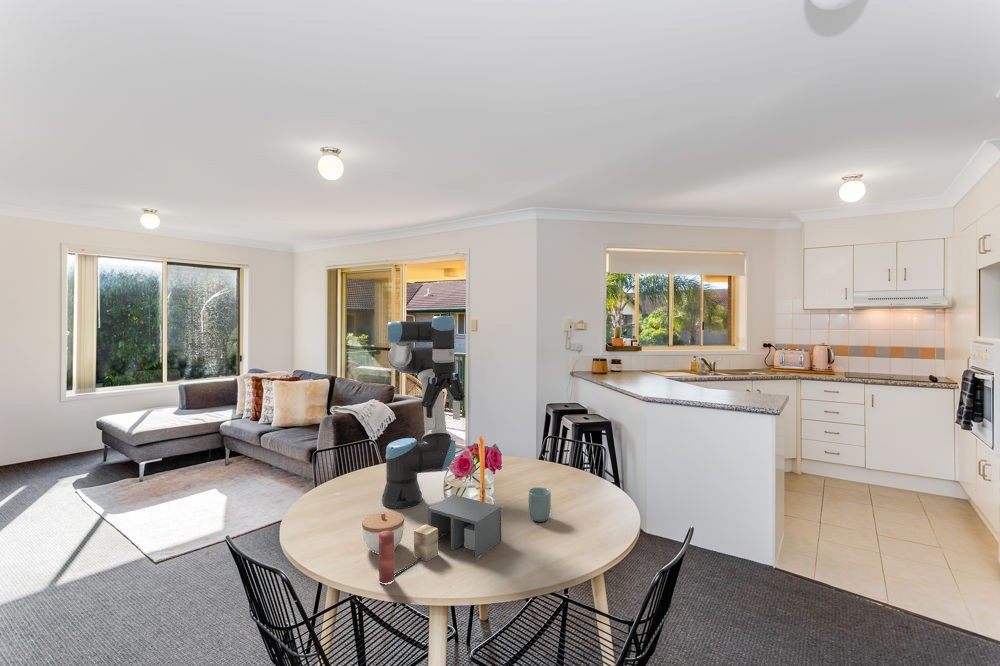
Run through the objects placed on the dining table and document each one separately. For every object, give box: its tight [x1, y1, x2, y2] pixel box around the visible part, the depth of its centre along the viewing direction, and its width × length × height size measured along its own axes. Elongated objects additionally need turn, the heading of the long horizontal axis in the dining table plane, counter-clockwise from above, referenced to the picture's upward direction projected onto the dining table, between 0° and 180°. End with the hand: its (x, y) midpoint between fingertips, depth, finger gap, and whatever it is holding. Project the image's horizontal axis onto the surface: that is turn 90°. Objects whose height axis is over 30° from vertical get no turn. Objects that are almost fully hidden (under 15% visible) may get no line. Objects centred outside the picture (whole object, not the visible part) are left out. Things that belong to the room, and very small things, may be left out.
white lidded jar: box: [361, 510, 405, 554], centre depth 149 cm, size 13×13×11 cm
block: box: [463, 524, 475, 551], centre depth 150 cm, size 5×5×6 cm
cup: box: [528, 487, 552, 523], centre depth 169 cm, size 8×8×10 cm
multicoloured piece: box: [378, 524, 439, 583], centre depth 138 cm, size 5×20×13 cm, turn 148°
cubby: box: [427, 494, 502, 559], centre depth 153 cm, size 19×13×11 cm
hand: (444, 423), depth 166 cm, fingers open, 13 cm apart
